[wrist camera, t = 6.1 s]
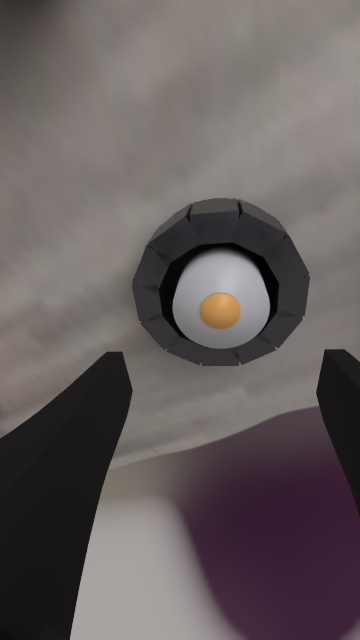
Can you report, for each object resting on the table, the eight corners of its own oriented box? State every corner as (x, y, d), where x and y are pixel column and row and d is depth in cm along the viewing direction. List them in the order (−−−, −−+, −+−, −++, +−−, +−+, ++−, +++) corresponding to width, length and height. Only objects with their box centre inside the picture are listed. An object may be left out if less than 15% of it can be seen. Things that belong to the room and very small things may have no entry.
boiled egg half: (261, 236, 16) (274, 264, 13) (257, 310, 19) (266, 350, 15) (177, 241, 17) (166, 269, 13) (184, 312, 19) (177, 351, 16)
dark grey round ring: (300, 190, 15) (320, 203, 12) (285, 330, 20) (297, 365, 17) (136, 205, 17) (118, 220, 14) (158, 333, 21) (148, 365, 18)
